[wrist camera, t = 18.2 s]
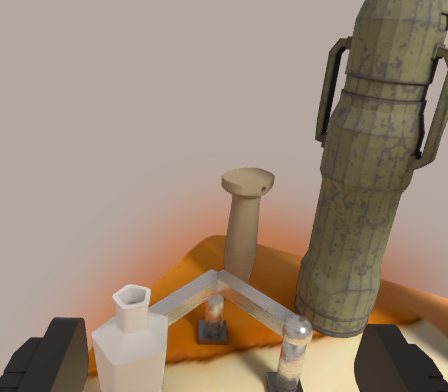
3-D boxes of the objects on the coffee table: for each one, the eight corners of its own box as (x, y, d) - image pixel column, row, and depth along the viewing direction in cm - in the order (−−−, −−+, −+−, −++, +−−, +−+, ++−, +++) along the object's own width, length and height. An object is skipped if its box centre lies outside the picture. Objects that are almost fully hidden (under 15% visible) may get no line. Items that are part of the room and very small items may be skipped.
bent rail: (282, 325, 43) (293, 262, 40) (304, 405, 34) (322, 331, 31) (138, 322, 42) (138, 256, 38) (122, 405, 33) (119, 328, 29)
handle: (205, 283, 49) (213, 174, 43) (240, 266, 53) (252, 165, 47) (231, 303, 46) (244, 188, 40) (266, 283, 50) (282, 177, 44)
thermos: (370, 358, 40) (491, -26, 26) (270, 309, 46) (325, -26, 32) (389, 313, 47) (493, -9, 33) (300, 276, 52) (356, -12, 38)
